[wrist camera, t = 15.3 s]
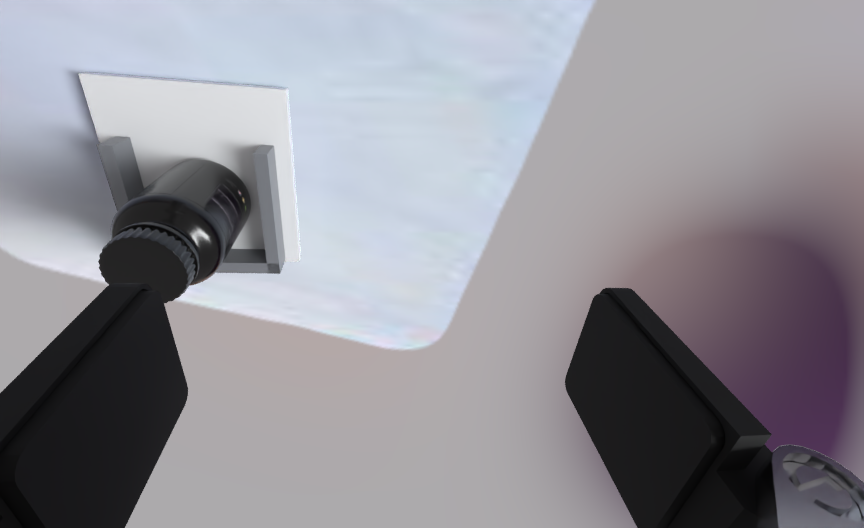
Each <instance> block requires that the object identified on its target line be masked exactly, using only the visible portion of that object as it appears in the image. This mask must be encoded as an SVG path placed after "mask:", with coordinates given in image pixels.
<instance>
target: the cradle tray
mask: <svg viewBox="0 0 864 528" xmlns="http://www.w3.org/2000/svg"><path fill="white" fill-rule="evenodd" d="M79 78H80V81H81V84H82V87H83V91H84V94H85V97H86V100H87V104H88V107H89V110H90V113H91V117H92V120H93V123H94V126H95V129H96V133H97V136H98V139H99V142H100V143H99V144H97V148H98V151H99V154H100V157H101V161H102V164H103V167H104V170H105V173H106V176H107V180H108V183H109V186H110V189H111V192H112V196H113V199H114V202H115V205H116V208H117V212H118V210H119V209H120V208H121V207H122V206H123V205H124V204H125V203H127V202H128V201H129V200H130V199H132V198H133V197H134V196H135V195H137V194H138V193H139V192H141V191H142V190H143V189H144V188H146V187H147V186H148V185H150V184H151V183H152V182H153V181H155V180H156V179H157V178H159V177H160V176H161V175H162V174H164V173H165V172H166V171H168V170H169V169H171V168H172V167H173V166H175V165H177V164H179V163H181V162H183V161H187V160H193V159H203V160H210V161H213V162H216V163H219V164H221V165H223V166H225V167H227V168H228V169H230V170H231V171H233V172H234V173H235V174H236V175H237V176H238V177H239V178H240V179H241V180H242V181H243V183H244V184H245V186H246V188H247V190H248V192H249V195H250V200H251V211H250V215H249V217H248V220H247V222H246V224H245V225H244V227H243V229H242V231H241V232H240V234H239V236H238V237H237V239H236V241H235V243H234V244H233V246H232V248H231V249H230V251H229V253H228V255H227V256H226V258H225V260H224V261H223V263H222V265H221V266H220V268H219V269H218V270H217V271H216V272H215V273H281V270H282V267H283V264H284V262H300V259H301V248H300V235H299V222H298V209H297V196H296V183H295V170H294V158H293V145H292V132H291V119H290V106H289V93H288V88H282V87H269V86H256V85H244V84H231V83H218V82H206V81H193V80H180V79H168V78H155V77H142V76H130V75H117V74H104V73H92V72H85V73H79Z"/></svg>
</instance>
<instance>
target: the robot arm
mask: <svg viewBox="0 0 864 528" xmlns="http://www.w3.org/2000/svg"><path fill="white" fill-rule="evenodd" d="M565 385H566V390H567V393H568V395H569V397H570V399H571V401H572V402H573V404H574V406H575V408H576V410H577V412H578V414H579V416H580V418H581V420H582V422H583V424H584V425H585V427H586V429H587V431H588V433H589V435H590V437H591V439H592V441H593V443H594V445H595V447H596V449H597V450H598V453H599V454H600V456H601V458H602V460H603V462H604V464H605V466H606V468H607V470H608V472H609V474H610V476H611V478H612V479H613V481H614V483H615V485H616V487H617V489H618V491H619V493H620V495H621V497H622V499H623V501H624V503H625V504H626V506H627V508H628V510H629V512H630V514H631V516H632V518H633V520H634V522H635V524H636V525H637V527H638V528H864V483H863V482H862V481H861V480H860V479H859V478H858V477H857V476H856V475H854V474H853V473H852V472H851V471H849V470H848V469H846V468H845V467H844V466H842V465H841V464H839V463H838V462H836V461H835V460H833V459H831V458H829V457H827V456H825V455H823V454H821V453H819V452H816V451H814V450H811V449H808V448H805V447H802V446H794V445H784V446H779V447H778V448H777V449H776V450H774V451H773V452H771V451H770V450H769V449H768V448H767V447H766V446H765V445H764V444H765V443H766V441H767V440H768V439H769V438H770V436H771V433H770V432H769V431H768V430H767V429H766V428H765V427H764V426H763V425H762V424H761V423H760V422H759V421H758V420H757V419H756V418H755V417H754V416H753V415H752V414H751V413H750V411H748V409H747V408H746V407H745V406H744V405H743V404H742V403H741V402H740V401H739V400H738V399H737V398H736V397H735V396H734V395H733V394H732V393H731V392H730V391H729V390H728V389H727V388H726V387H725V386H724V385H723V383H722V382H721V381H720V380H719V379H718V378H717V377H716V376H715V375H714V374H713V373H712V372H711V371H710V370H709V369H708V368H707V367H706V366H705V365H704V364H703V363H702V361H701V360H700V359H699V358H698V357H697V356H696V355H694V353H693V352H692V351H691V350H690V349H689V348H688V347H687V346H686V345H685V344H684V343H683V342H682V341H681V340H680V339H679V338H678V337H677V335H676V334H675V333H674V332H673V331H672V330H671V329H670V328H669V327H668V326H667V325H666V324H665V323H664V322H663V321H662V320H661V319H660V318H659V317H658V316H657V315H656V314H655V313H654V312H653V310H652V309H651V308H650V307H649V306H648V305H647V304H646V303H645V302H644V301H643V300H642V299H641V298H640V297H639V296H638V295H637V294H636V293H635V292H634V291H633V290H632V289H629V288H605V289H603V290H602V291H601V292H600V294H597V295H596V296H595V297H594V298H593V300H592V303H591V306H590V309H589V312H588V315H587V318H586V320H585V324H584V326H583V329H582V332H581V335H580V338H579V340H578V343H577V346H576V349H575V352H574V355H573V358H572V360H571V363H570V367H569V369H568V372H567V375H566V379H565ZM187 396H188V387H187V383H186V379H185V376H184V373H183V369H182V366H181V362H180V358H179V355H178V351H177V348H176V345H175V341H174V338H173V334H172V331H171V327H170V323H169V320H168V317H167V313H166V310H165V306H164V303H163V299H162V296H161V294H160V293H159V292H158V291H152V288H151V287H150V286H149V285H148V284H145V283H113V284H110V285H109V286H107V287H106V288H105V289H104V290H103V291H102V292H101V293H100V294H99V295H98V296H97V297H96V298H95V299H94V300H93V301H92V302H91V303H90V304H89V305H88V306H87V307H86V308H85V309H84V310H83V311H82V312H81V313H80V314H79V315H78V316H77V317H76V318H75V319H74V320H73V321H72V322H71V323H70V324H69V325H68V326H67V327H66V328H65V329H64V330H63V331H62V332H61V333H60V334H59V335H58V336H57V337H56V338H55V339H54V340H53V341H52V342H51V343H50V344H49V345H48V346H47V347H46V348H45V349H44V350H43V351H42V352H41V353H40V354H39V355H38V356H37V357H36V358H35V359H34V360H33V361H32V362H31V363H30V364H29V365H28V366H27V367H26V368H25V369H24V370H23V371H22V372H21V373H20V375H18V376H17V377H16V378H15V379H14V380H13V381H12V382H11V383H10V384H9V385H8V386H7V387H6V388H5V389H4V390H3V391H2V392H1V393H0V528H125V526H126V524H127V522H128V520H129V518H130V516H131V514H132V512H133V510H134V508H135V505H136V504H137V502H138V499H139V497H140V495H141V493H142V491H143V489H144V487H145V485H146V483H147V481H148V479H149V477H150V475H151V473H152V471H153V469H154V467H155V465H156V463H157V461H158V459H159V457H160V455H161V453H162V450H163V448H164V446H165V444H166V442H167V440H168V438H169V436H170V434H171V432H172V430H173V428H174V426H175V424H176V422H177V420H178V418H179V416H180V414H181V412H182V410H183V408H184V406H185V403H186V400H187Z"/></svg>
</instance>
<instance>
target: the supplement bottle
mask: <svg viewBox="0 0 864 528" xmlns="http://www.w3.org/2000/svg"><path fill="white" fill-rule="evenodd" d="M250 211H251V200H250V195H249V192H248V190H247V188H246V186H245V184H244V183H243V181H242V180H241V179H240V178H239V177H238V176H237V175H236V174H235V173H234V172H233V171H231V170H230V169H228V168H227V167H225V166H223V165H221V164H219V163H216V162H213V161H210V160H203V159H193V160H187V161H183V162H181V163H179V164H177V165H175V166H173V167H172V168H171V169H169V170H168V171H166V172H165V173H164V174H162V175H161V176H160V177H159V178H157V179H156V180H155V181H153V182H152V183H151V184H150V185H148V186H147V187H146V188H144V189H143V190H142V191H141V192H139V193H138V194H137V195H135V196H134V197H133V198H132V199H130V200H129V201H128V202H127V203H125V204H124V205H123V206H122V207H121V208H120V209H119V210H118V212H117V213H116V215H115V217H114V219H113V221H112V225H111V241H109V242H108V244H107V245H106V246H105V247H104V248H103V250H102V253H101V254H100V260H99V261H98V262H99V264H100V266H99V269H100V271H101V275H102V276H103V277H104V278H105V282H107V283H108V284H109V285H110V284H113V283H145V284H148V285H149V286H150V287H151V288H152V291H158V292H159V293H160V294H161V296H162V299H163V303H167V302H168V301H173V300H174V299H175V298H178V297H180V296H181V294H183V293H184V292H185V291H186V289H187V288H188V286H190V285H194V284H198V283H200V282H203V281H205V280H207V279H208V278H210V277H211V276H212V275H213V274H215V272H216V271H217V270H218V269H219V268H220V266H221V265H222V263H223V261H224V260H225V258H226V256H227V255H228V253H229V251H230V249H231V248H232V246H233V244H234V243H235V241H236V239H237V237H238V236H239V234H240V232H241V231H242V229H243V227H244V225H245V224H246V222H247V220H248V217H249V215H250Z"/></svg>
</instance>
